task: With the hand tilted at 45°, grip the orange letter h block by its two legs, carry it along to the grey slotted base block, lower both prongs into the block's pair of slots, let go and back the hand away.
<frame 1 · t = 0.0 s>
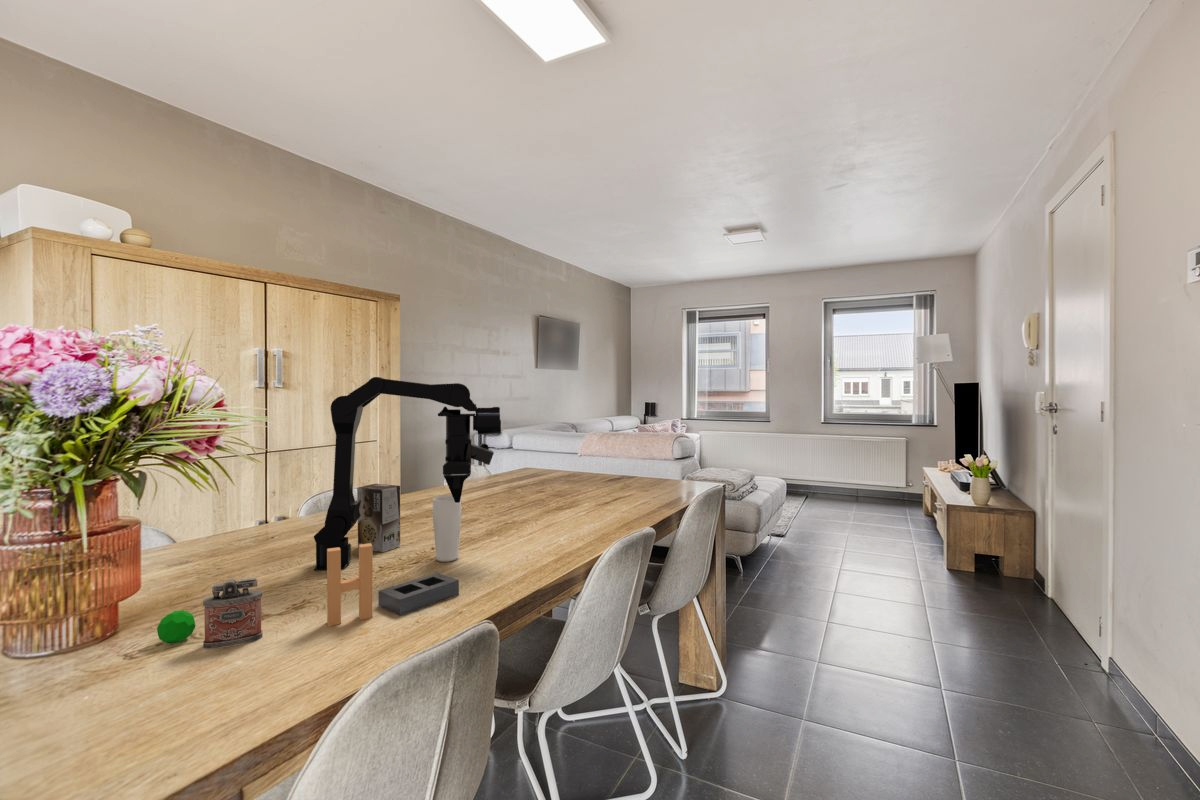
hand: (458, 498, 134), 15 cm above the table, tool pointing down, fingers open, 9 cm apart
orange letter h block: (350, 619, 98), on the table
polyhedron: (176, 642, 89), on the table
drinking glass: (447, 560, 133), on the table
lighter: (233, 642, 89), on the table
grey slotted base block: (419, 600, 107), on the table
coffee box: (379, 548, 143), on the table
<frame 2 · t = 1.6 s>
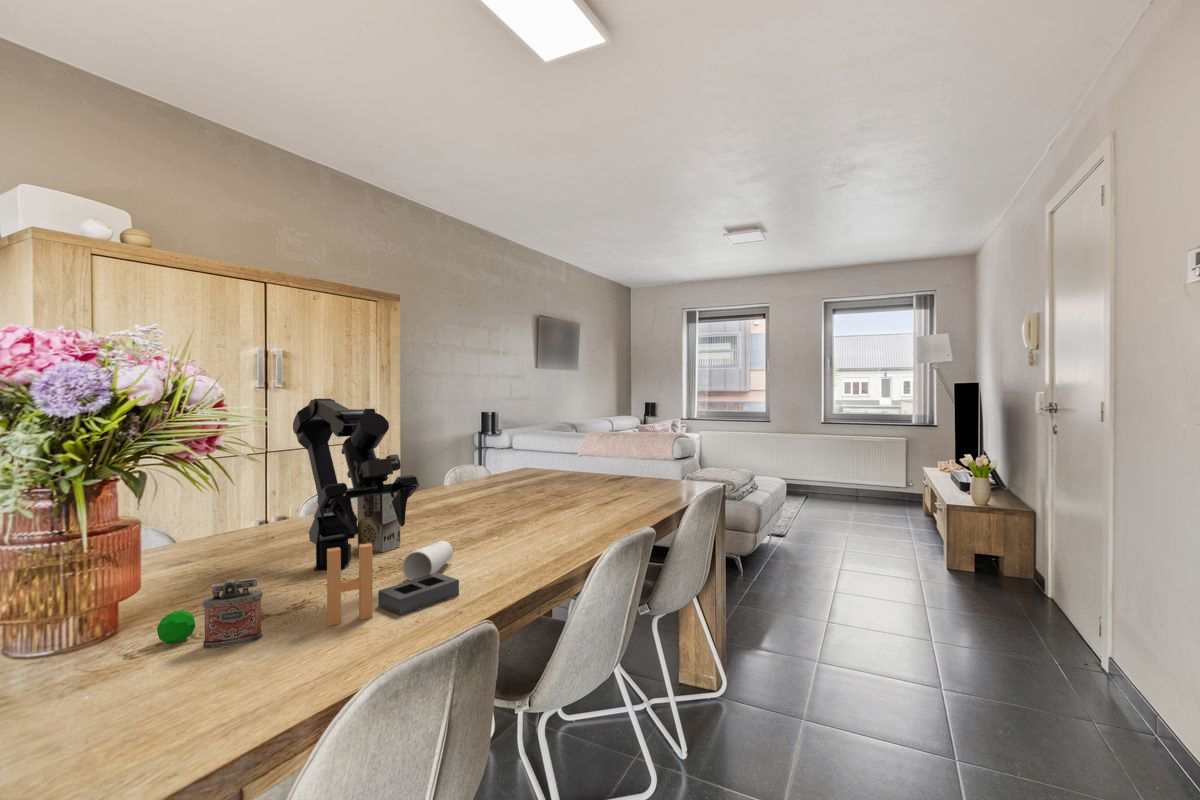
hand: (380, 529, 109), 13 cm above the table, tool tilted 35°, fingers open, 9 cm apart
drinking glass: (443, 551, 131), point 3 cm above the table
everything else where it was.
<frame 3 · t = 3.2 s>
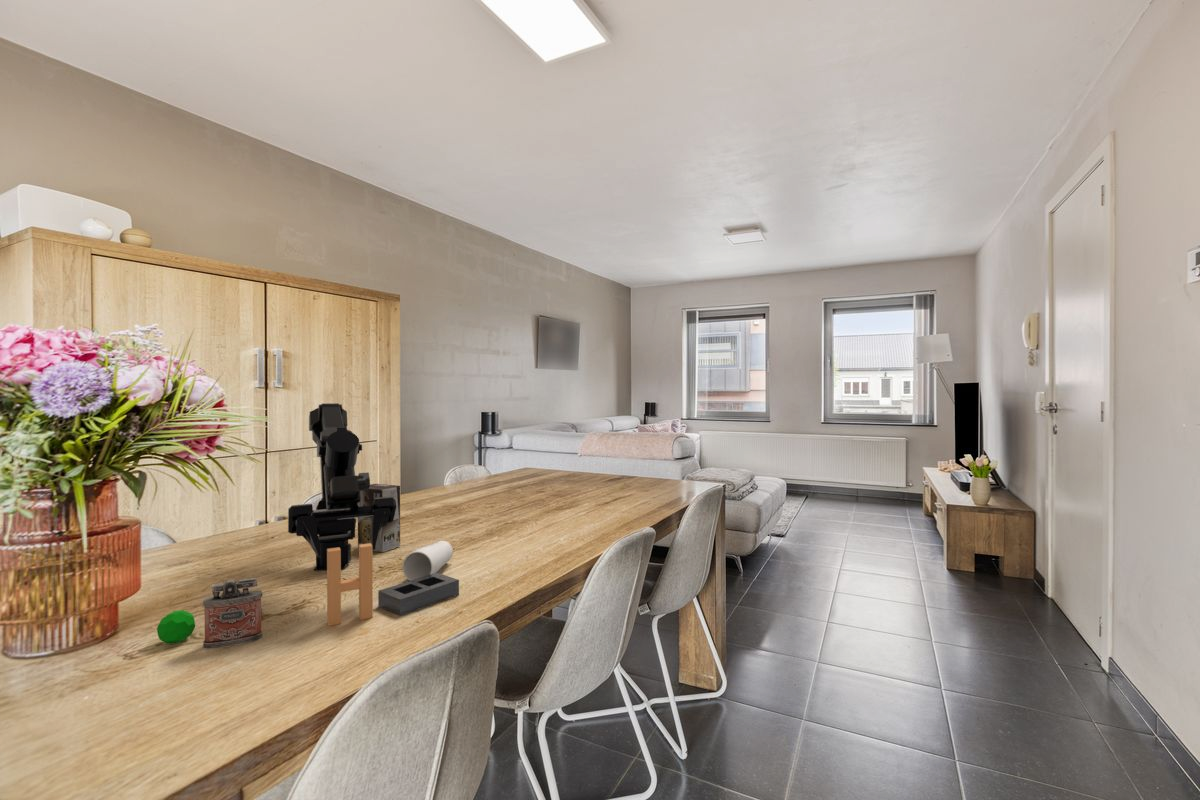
hand: (347, 552, 101), 11 cm above the table, tool tilted 45°, fingers open, 9 cm apart
nothing on the table moved.
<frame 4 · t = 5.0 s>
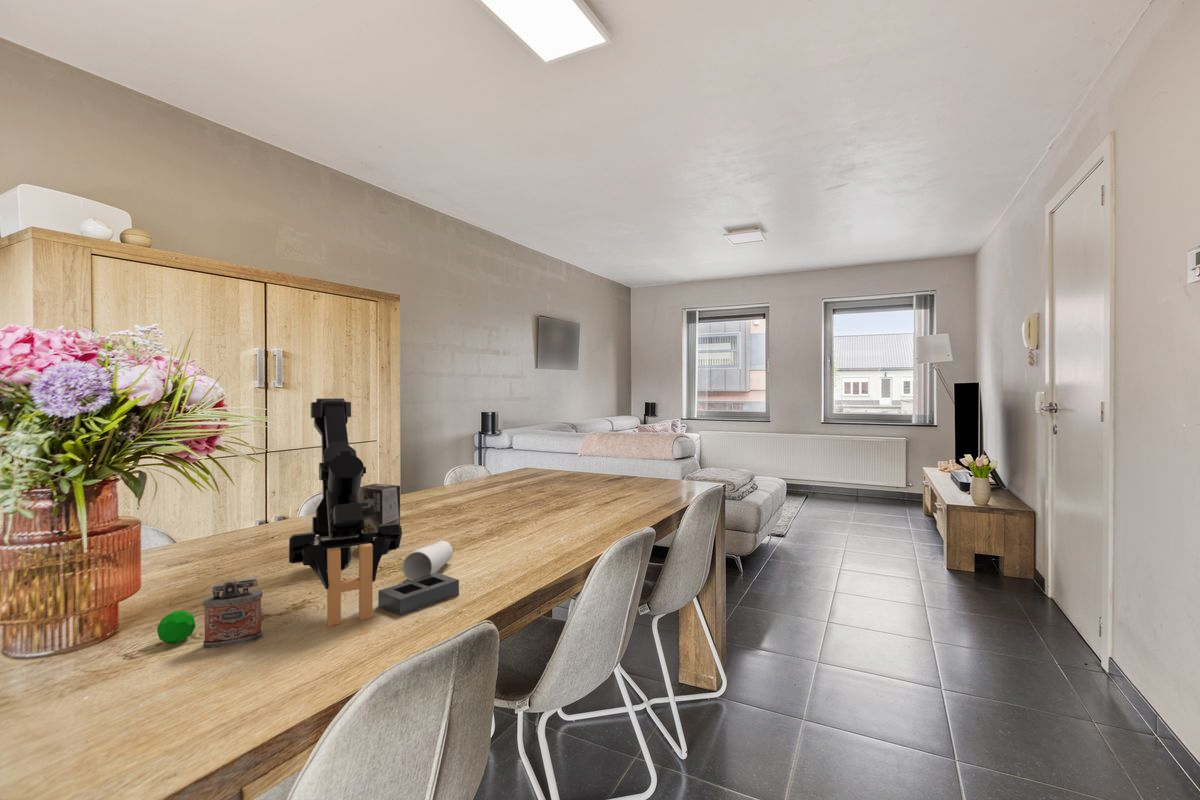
hand: (351, 584, 97), 7 cm above the table, tool tilted 45°, fingers closed on orange letter h block, 7 cm apart
orange letter h block: (350, 619, 98), on the table, touching gripper
everything else where it was.
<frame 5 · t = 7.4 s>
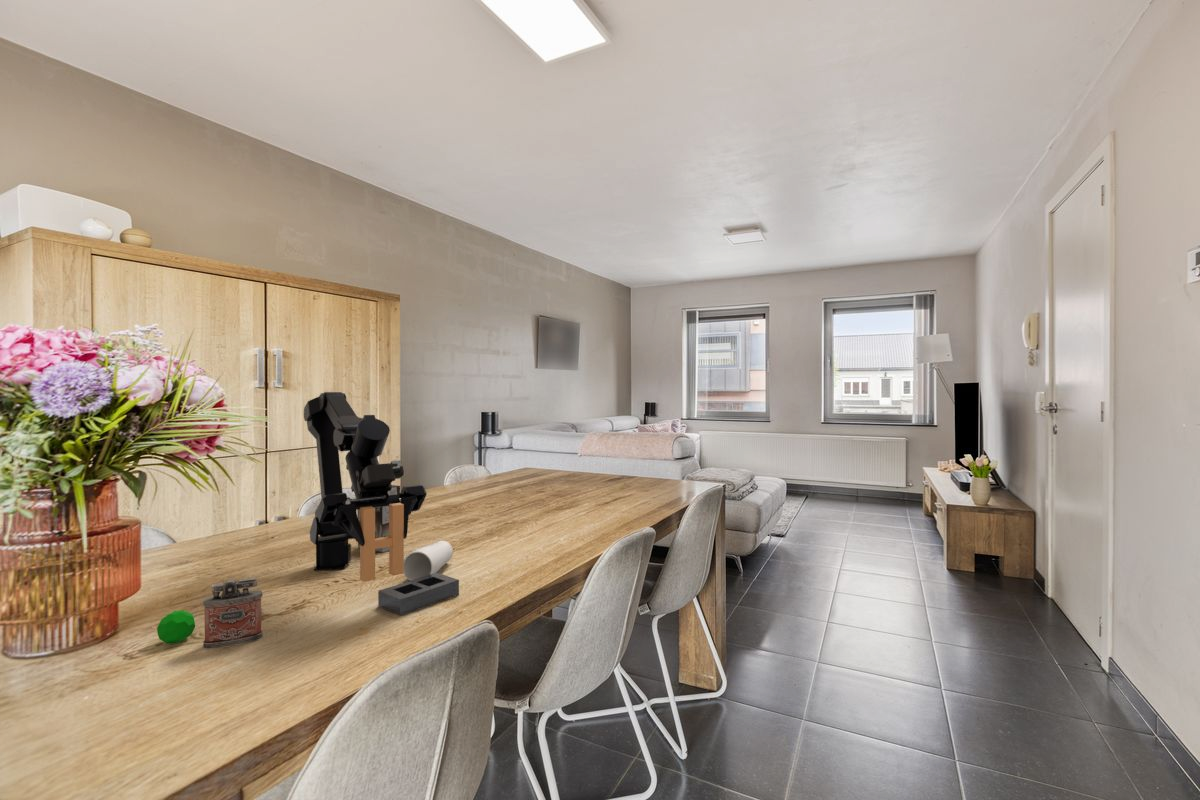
hand: (384, 541, 100), 14 cm above the table, tool tilted 45°, fingers closed on orange letter h block, 7 cm apart
orange letter h block: (382, 576, 101), point 7 cm above the table, touching gripper
everything else where it was.
when the fingers open (8 cm above the table, at t = 10.1 s): orange letter h block drops 1 cm, resting in grey slotted base block.
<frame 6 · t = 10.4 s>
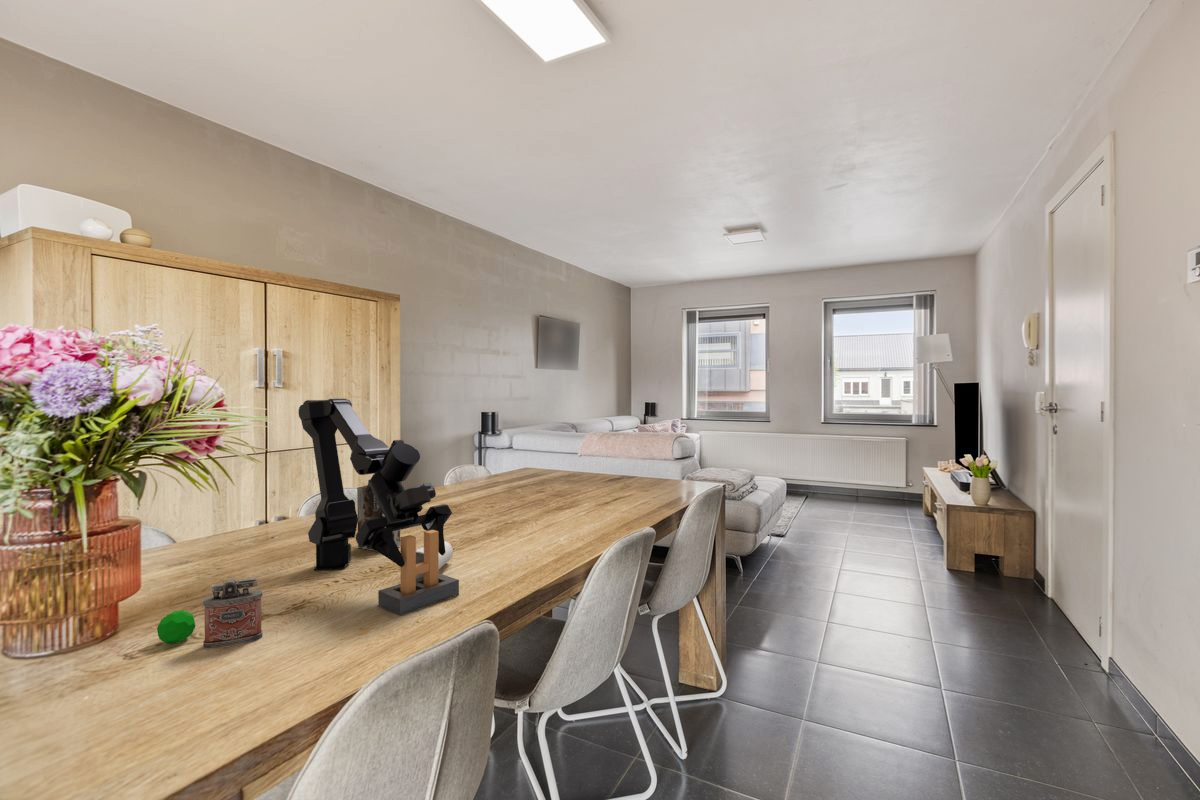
hand: (424, 559, 106), 8 cm above the table, tool tilted 45°, fingers open, 9 cm apart
orange letter h block: (419, 600, 107), resting in grey slotted base block
everything else where it was.
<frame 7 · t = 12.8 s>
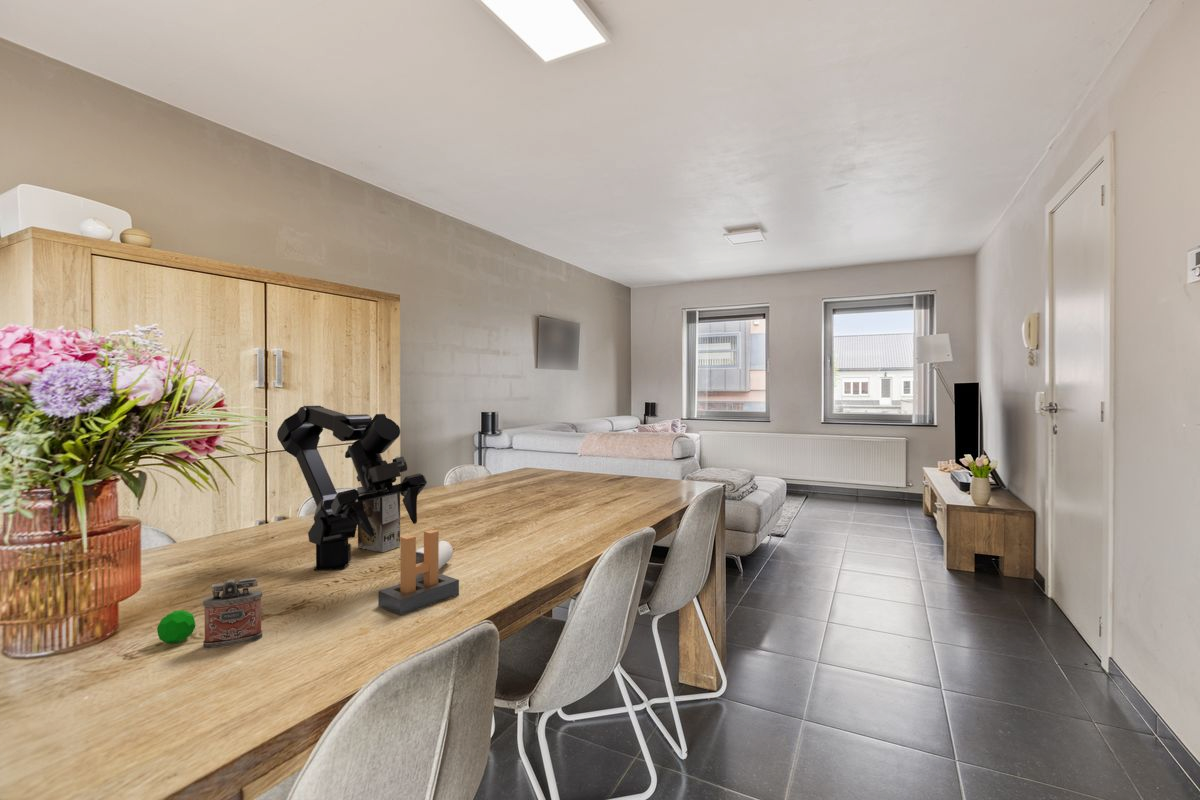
hand: (394, 529, 114), 12 cm above the table, tool tilted 35°, fingers open, 9 cm apart
nothing on the table moved.
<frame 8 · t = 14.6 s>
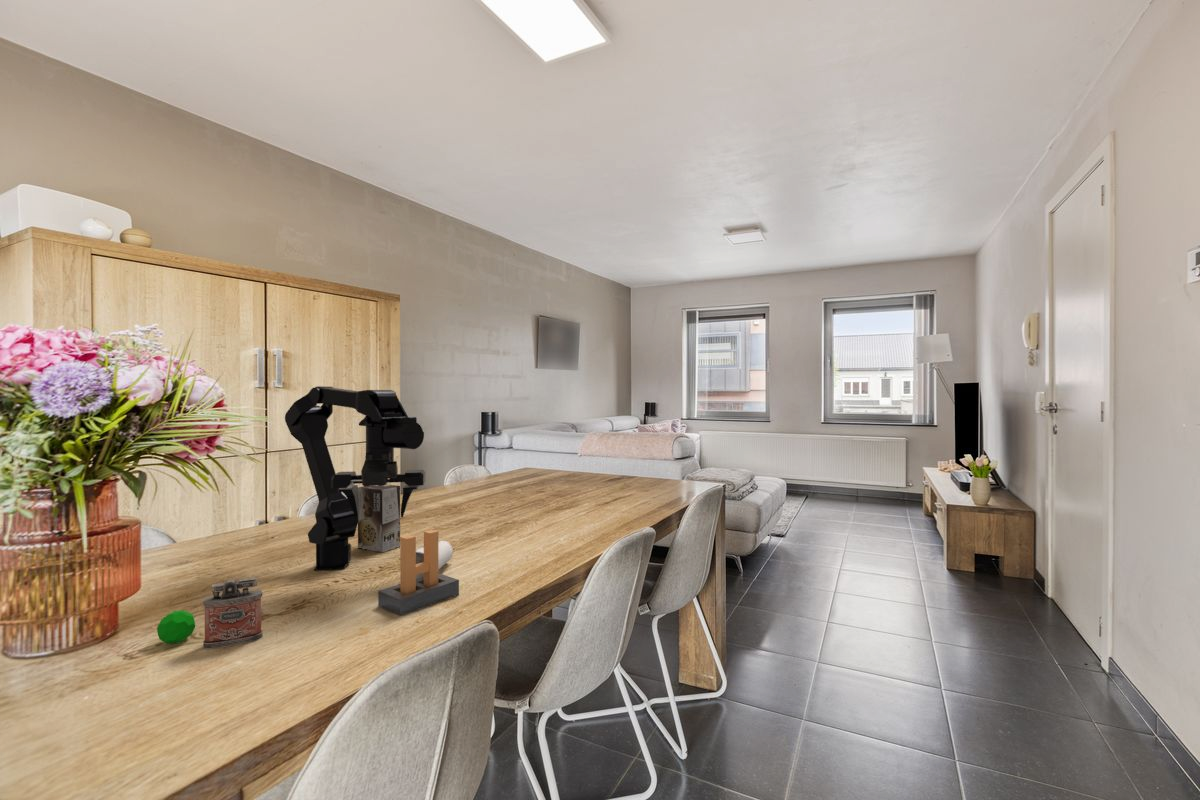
hand: (380, 517, 120), 13 cm above the table, tool pointing down, fingers open, 9 cm apart
nothing on the table moved.
at the end: orange letter h block 0.0 cm off-centre on the grey slotted base block, point 0.0 cm above the grey slotted base block's base; orange letter h block tilted 0°; the gripper is holding nothing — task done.
